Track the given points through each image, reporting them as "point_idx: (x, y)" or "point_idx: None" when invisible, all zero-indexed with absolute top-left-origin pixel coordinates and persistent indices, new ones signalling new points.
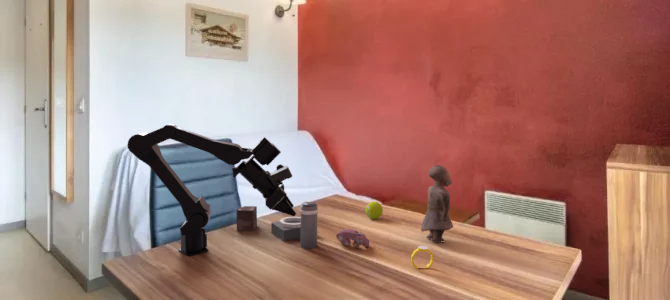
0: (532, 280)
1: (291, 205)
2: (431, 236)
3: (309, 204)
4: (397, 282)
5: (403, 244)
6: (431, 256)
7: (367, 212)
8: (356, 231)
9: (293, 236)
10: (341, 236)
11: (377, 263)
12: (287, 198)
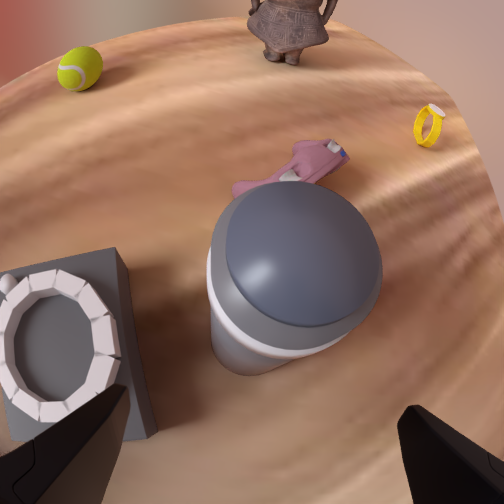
0: (425, 83)
1: (122, 409)
2: (279, 54)
3: (348, 250)
4: (476, 204)
5: (294, 96)
6: (424, 113)
7: (76, 81)
8: (323, 146)
9: (142, 381)
10: None
11: (411, 190)
12: (76, 460)
